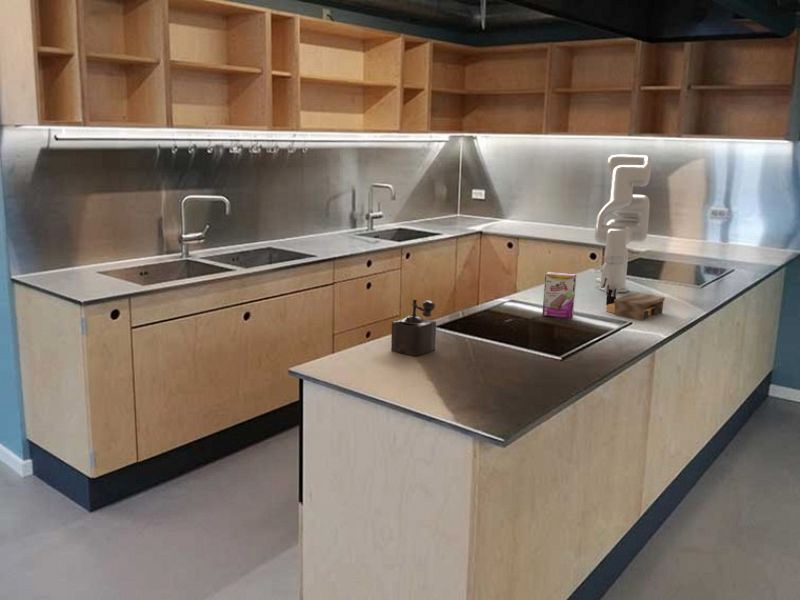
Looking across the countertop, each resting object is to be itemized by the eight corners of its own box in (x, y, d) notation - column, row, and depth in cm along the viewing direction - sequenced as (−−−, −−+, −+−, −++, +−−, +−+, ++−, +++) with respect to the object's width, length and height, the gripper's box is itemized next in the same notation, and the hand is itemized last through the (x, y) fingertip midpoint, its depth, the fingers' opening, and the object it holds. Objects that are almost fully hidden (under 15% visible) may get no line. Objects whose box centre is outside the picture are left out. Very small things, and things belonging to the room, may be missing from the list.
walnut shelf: (613, 314, 276) (614, 299, 275) (635, 307, 288) (637, 292, 287) (641, 320, 268) (642, 304, 267) (663, 312, 280) (664, 297, 279)
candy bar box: (542, 316, 272) (544, 273, 268) (543, 313, 277) (546, 271, 273) (572, 319, 268) (575, 276, 265) (573, 316, 273) (576, 273, 269)
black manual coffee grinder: (388, 351, 226) (389, 295, 222) (410, 343, 235) (411, 289, 230) (428, 361, 217) (429, 303, 213) (449, 352, 225) (451, 296, 221)
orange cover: (606, 311, 281) (606, 305, 280) (621, 306, 289) (622, 300, 289) (639, 318, 271) (640, 311, 271) (654, 313, 280) (655, 306, 279)
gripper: (615, 256, 290) (611, 301, 294) (595, 260, 279) (592, 306, 284) (632, 259, 284) (628, 304, 289) (613, 263, 274) (609, 310, 278)
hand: (610, 305), depth 286 cm, fingers closed
